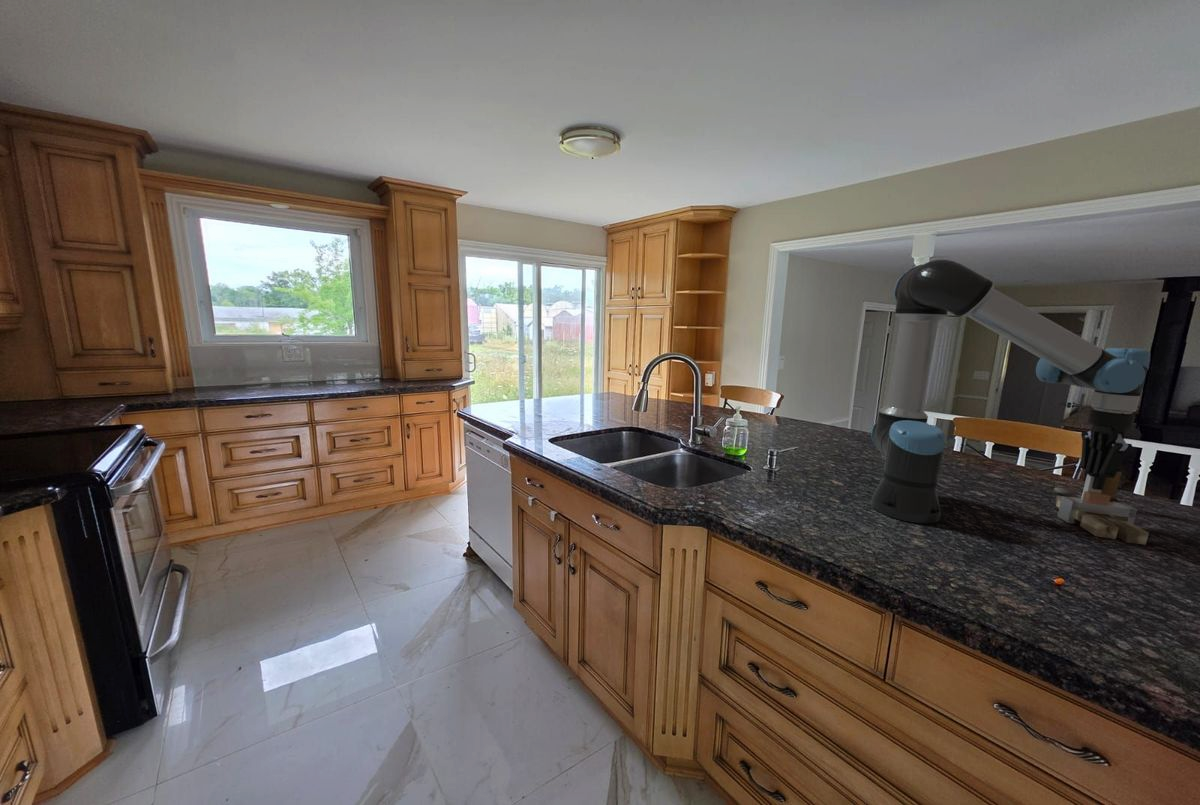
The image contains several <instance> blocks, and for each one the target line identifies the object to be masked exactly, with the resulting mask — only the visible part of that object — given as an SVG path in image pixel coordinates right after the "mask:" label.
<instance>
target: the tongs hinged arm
mask: <svg viewBox="0 0 1200 805" xmlns="http://www.w3.org/2000/svg"><path fill="white" fill-rule="evenodd" d="M1053 493H1055V494H1056V495H1057V494H1060V495H1064V496H1070V497H1075V498H1077V494H1078V492H1077V491H1076V490H1072V489H1070V488H1066V487H1059V486H1058V487H1057V486H1056V487H1054V488H1053ZM1061 499H1062V496H1058V499H1057V503H1056V505H1055V506H1056V507H1057V508H1058V509H1059V507H1060V503H1061ZM1075 520H1077V521H1078V522H1079V523H1080V524H1079V526H1080V527H1081V528H1083V529H1084V530H1086V531H1087V532H1089V533H1090V534H1092V535H1093V536H1095V537H1097V538H1105V539H1112V540H1116V539H1117V537H1116V536H1117V532H1118V528H1119V527H1117V526H1115V525H1114V524H1112V523H1110V522H1109V521H1107V520H1105V519H1104V518H1102V517H1100V516H1099V515H1097V514H1095V513H1091V512H1084V511H1077V512H1076V516H1075Z"/></svg>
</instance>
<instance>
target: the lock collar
mask: <svg viewBox="0 0 1200 805" xmlns="http://www.w3.org/2000/svg"><path fill="white" fill-rule="evenodd" d="M1110 497H1111V496H1109V495H1107V494H1105V493H1097V492H1088V491H1084V495H1083V498H1081V497H1067V496H1062V499H1061V503H1060V507H1059V508H1058V512H1057V517H1058V518H1059V519H1061V520H1062V521H1064V522H1066V523H1067V524H1074V523H1075V520H1076V519H1075V516H1076V512H1077V511H1084V512H1091V513H1099V514H1107V515H1110V516H1114V518H1116V519H1117V520H1119V521H1125V522H1129V523H1131V524H1133V525H1134V523H1135V519H1136V515H1137V512H1138V509H1137V508H1134V507H1133V506H1130V505H1128V504H1126V503H1124V502H1120V503H1117V502H1109V501H1110Z"/></svg>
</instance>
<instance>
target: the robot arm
mask: <svg viewBox="0 0 1200 805" xmlns="http://www.w3.org/2000/svg"><path fill="white" fill-rule="evenodd" d="M893 291H894V293H893V294H894V298H895V301H896V306H895V312H894V316H895V317H896V318H897V319H898V320H899V327H898V333H897V339H896V344H895V350H894V357H893V362H892V363H893V364H892V368H891V374H890V380H889V387H888V392H887V393H888V394H887V399H886V405H884V406H883V407H882V408H879V410H878V415H877V420H876V421H875V423H874V424H873V425H872V428H871V432H870V434H871V440H872V443H873V445H874V446H875V448H876V449H877V450H878V451H879V453H880V454H882V455H883V456H884V457H885V462H884V467H883V473H882V474H883V476H882V479H881V480H880V481H879V484H878V485H877V487H876V489H875V490H874V492H873V494H872V496H871V500H870V501H871V502H870V506H871V507H872V508H873V509H874V510H876V511H877V512H879V513H881V514H882V515H885V516H886V517H887V516H888V517H890V518H893V519H897V520H900V521H905V522H908V523H916V524H925V525H926V524H934V523H938V522H939V521H940V518H941V513H942V512H941V510H942V509H941V505H940V500H939V496H938V492H937V485H938V480H939V475H940V470H941V465H942V461H943V460H942V459H943V455H944V451H945V450H944V449H945V447H946V441H945V440H946V434H945V432H944V431H943V430H942V429H941V428H940V427H938V426H936V425H933V424H929V423H928V418H929V415H928V414H927V412H925V411H924V409H923V408H924V405H925V398H926V393H927V386H928V382H929V375H930V371H931V365H932V360H933V353H934V349H935V348H934V347H935V343H936V338H937V332H938V328H939V323H940V321H942V320H944V319H945V318H946V317H947V316H948V313H951V314H953V315H954V316H956V317H958V318H963V317H968V318H970V319H971V320H973V321H975V322H976V323H978V324H980V325H982V326H984V327H986V328H987V329H988V330H991V331H992V332H994V333H996V334H998V335H999V336H1001V337H1002V338H1004V339H1006V340H1008V341H1010V342H1012V343H1013V344H1015V345H1017V346H1018V347H1020V348H1022V349H1024V350H1025V351H1027V352H1029V353H1031V354H1033V355H1034V356H1036V357H1037V358H1039V360H1038V361H1037V364H1036V367H1035V374H1036V377H1037V379H1038V380H1039V381H1040V382H1043V383H1050V384H1055V385H1056V384H1062V385H1063V384H1064V385H1070V386H1075V387H1081V388H1086V389H1091V390H1094V392H1093V396H1092V399H1091V400H1092V401H1091V404H1090V406H1091V407H1092V408H1091V409H1090V410H1089V413H1088V418H1087V423H1088V424H1090V425H1091V427H1090V429H1089V431H1082V432H1080V435H1081V440H1082V443H1081V459H1080V460H1081V462H1080V468H1081V470H1084V471H1085V474H1086V475H1085V476H1086V477H1085V480H1084V487H1083V490H1082V494H1081V497H1080V498H1083V495H1084V491H1088V492H1097V493H1101V491H1102V489H1103V486H1104V482H1105V479H1106V478H1114V477H1115V475H1116V473H1117V471H1118V470H1120V467H1121V465H1122V463H1123V461H1124V459H1125V458H1126V456H1127V453H1128V452H1129V451H1130V450H1131V449H1132V448H1133V444H1131V443H1127V442H1126V441H1125V438H1126V433H1125V431H1126V430H1130V429H1132V428H1133V426H1134V423H1135V418H1136V415H1135V413H1134V412H1137V410H1138V406H1139V402H1140V397H1141V395H1142V391H1143V389H1144V386H1145V382H1146V377H1147V374H1148V371H1149V369H1150V362H1151V352H1150V350H1147V349H1145V348H1144V349H1143V348H1130V347H1128V348H1125V347H1107V348H1106V349H1105V350H1104V349H1103V348H1101V347H1099V346H1097V345H1096V344H1094V343H1092V342H1090V341H1088V340H1086V339H1085V338H1083V337H1081V336H1080V335H1078V334H1076V333H1074V332H1072V331H1071V330H1068V329H1067V328H1065V327H1063V326H1062V325H1060V324H1058V323H1056V322H1054V321H1053V320H1051V319H1049V318H1047V317H1045V316H1044V315H1042V314H1040V313H1039V312H1037V311H1035V310H1033V309H1031V308H1029V307H1027V306H1026V305H1025V304H1023V303H1020V302H1019V301H1017V300H1015V299H1013V298H1011V297H1010V296H1008V295H1006V294H1005V293H1002V292H1000V291H999V290H997V289H995V282H994V281H991V280H990V279H988V278H987V277H984V275H983V276H982V275H981V274H979V273H978V272H976V271H974V270H972V269H971V268H969V267H967V266H965V265H963V264H962V263H959V262H956V261H954V260H950V259H949V260H948V259H935V260H931V261H929V262H926V263H923V264H919V265H916V266H914V267H911V268H910V269H908V270H906V271H905V272H904V273H903V274H902V275H901V276H900V277H899V278H898V280H897V282H896V283H895V286H894V290H893Z"/></svg>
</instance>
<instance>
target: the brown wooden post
mask: <svg viewBox="0 0 1200 805" xmlns="http://www.w3.org/2000/svg"><path fill="white" fill-rule="evenodd" d="M1122 473H1123V470H1121V469H1118V471H1117V473H1116V475H1115V477H1114V478H1106V479H1105V482H1104V486H1103V489H1102V491H1101V493H1105V494H1107V495H1109V496H1111V497H1110V501H1109V502H1117V503H1121V501H1119V500H1118V499H1117V498H1116V494H1117V491H1118V487H1119V485H1120V484H1119V483H1120V480H1121V476H1122Z"/></svg>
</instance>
